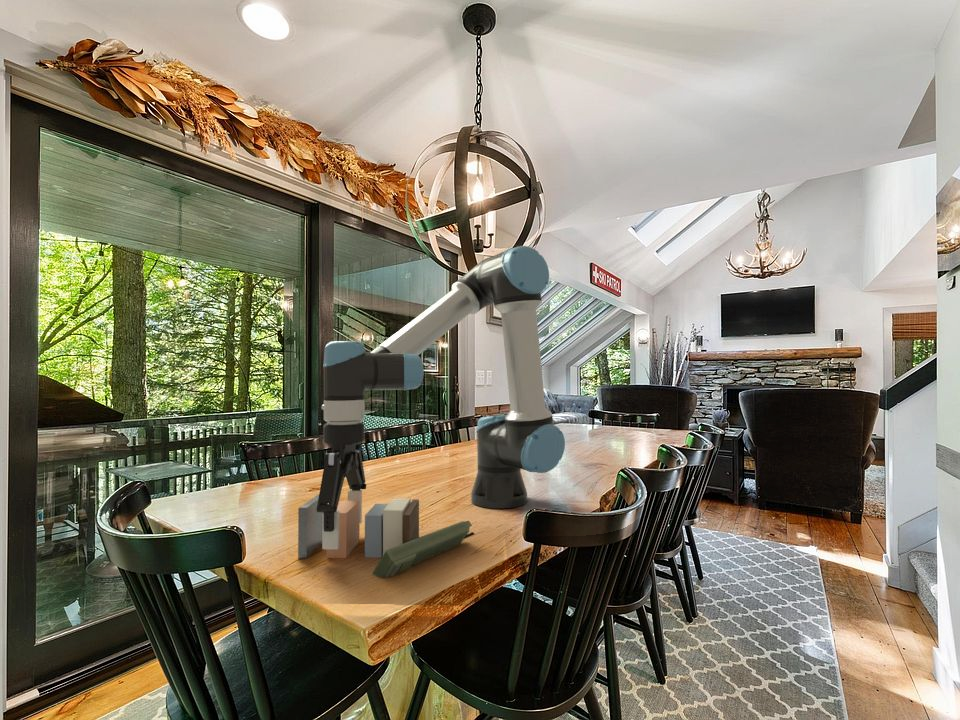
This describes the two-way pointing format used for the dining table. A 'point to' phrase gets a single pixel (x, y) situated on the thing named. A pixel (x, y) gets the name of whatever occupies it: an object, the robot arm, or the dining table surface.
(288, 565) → the dining table surface
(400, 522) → the cream book
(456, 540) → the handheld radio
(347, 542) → the rust book
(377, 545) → the slate book
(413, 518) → the dark brown block piece
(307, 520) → the bookend
